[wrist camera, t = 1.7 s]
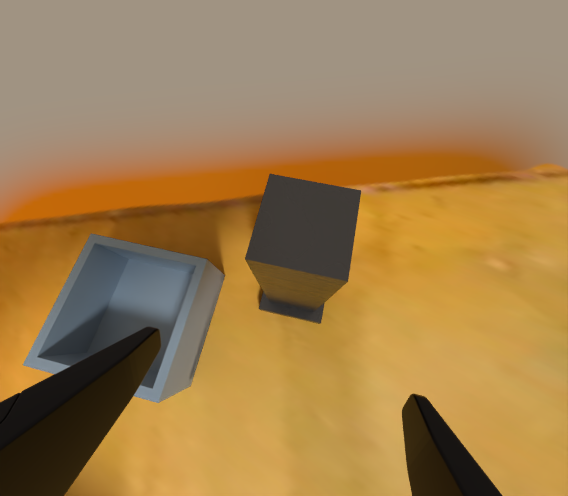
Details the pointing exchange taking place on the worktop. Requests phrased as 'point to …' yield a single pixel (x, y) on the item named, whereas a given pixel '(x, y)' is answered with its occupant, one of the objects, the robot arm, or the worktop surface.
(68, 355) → the box
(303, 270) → the dark square pedestal
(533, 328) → the worktop surface
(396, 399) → the worktop surface
